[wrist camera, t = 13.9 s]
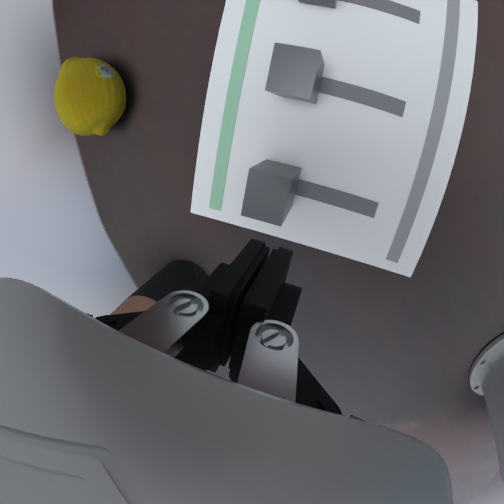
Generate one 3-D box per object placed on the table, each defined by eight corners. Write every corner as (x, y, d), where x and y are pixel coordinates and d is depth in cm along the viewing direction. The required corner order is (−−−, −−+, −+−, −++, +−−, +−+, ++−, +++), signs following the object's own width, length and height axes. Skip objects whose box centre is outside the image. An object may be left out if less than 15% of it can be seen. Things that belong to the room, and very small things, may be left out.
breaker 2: (301, 167, 24) (292, 179, 19) (292, 206, 25) (281, 226, 21) (266, 159, 24) (249, 168, 20) (258, 197, 26) (240, 215, 21)
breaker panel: (466, 10, 15) (478, 1, 12) (405, 263, 28) (410, 278, 25) (250, -42, 18) (240, -55, 16) (203, 204, 31) (190, 212, 29)
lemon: (149, 119, 29) (99, 125, 22) (103, 145, 32) (54, 158, 25) (125, 41, 25) (76, 32, 18) (82, 73, 28) (35, 74, 21)
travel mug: (192, 319, 39) (108, 435, 22) (151, 279, 38) (48, 380, 21) (227, 292, 35) (138, 428, 18) (182, 245, 34) (60, 357, 17)
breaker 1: (324, 64, 19) (320, 50, 15) (316, 104, 21) (310, 99, 17) (287, 57, 20) (274, 42, 16) (279, 96, 22) (264, 90, 17)
